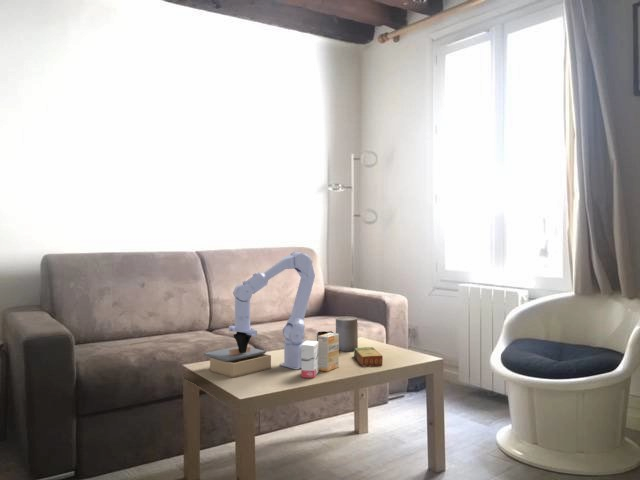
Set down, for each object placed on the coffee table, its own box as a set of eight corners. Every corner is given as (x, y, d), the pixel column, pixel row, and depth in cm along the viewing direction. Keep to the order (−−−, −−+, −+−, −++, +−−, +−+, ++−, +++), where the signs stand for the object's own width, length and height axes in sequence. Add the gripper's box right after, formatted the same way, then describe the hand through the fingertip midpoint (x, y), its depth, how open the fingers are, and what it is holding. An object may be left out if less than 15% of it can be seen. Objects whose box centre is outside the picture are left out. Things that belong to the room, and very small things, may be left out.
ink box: (314, 378, 199) (314, 345, 199) (300, 377, 200) (300, 344, 200) (318, 372, 208) (318, 340, 207) (306, 371, 209) (306, 339, 208)
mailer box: (270, 368, 213) (270, 355, 213) (232, 377, 200) (232, 363, 200) (247, 362, 222) (247, 349, 222) (210, 370, 210) (210, 357, 209)
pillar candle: (356, 346, 251) (356, 313, 251) (359, 351, 241) (358, 316, 241) (334, 346, 251) (334, 313, 250) (336, 351, 241) (336, 317, 240)
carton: (362, 367, 216) (362, 356, 216) (353, 357, 232) (353, 347, 232) (383, 366, 218) (382, 355, 217) (373, 356, 233) (373, 346, 233)
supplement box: (328, 372, 208) (328, 337, 207) (317, 370, 210) (317, 335, 210) (339, 367, 215) (339, 333, 214) (328, 365, 217) (328, 332, 217)
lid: (265, 353, 215) (265, 345, 215) (226, 361, 202) (226, 353, 202) (242, 347, 225) (242, 340, 225) (203, 355, 212) (203, 347, 212)
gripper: (222, 315, 212) (222, 351, 212) (246, 320, 202) (246, 357, 202) (237, 313, 217) (237, 348, 217) (261, 318, 207) (261, 354, 207)
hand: (242, 352), depth 210 cm, fingers closed
